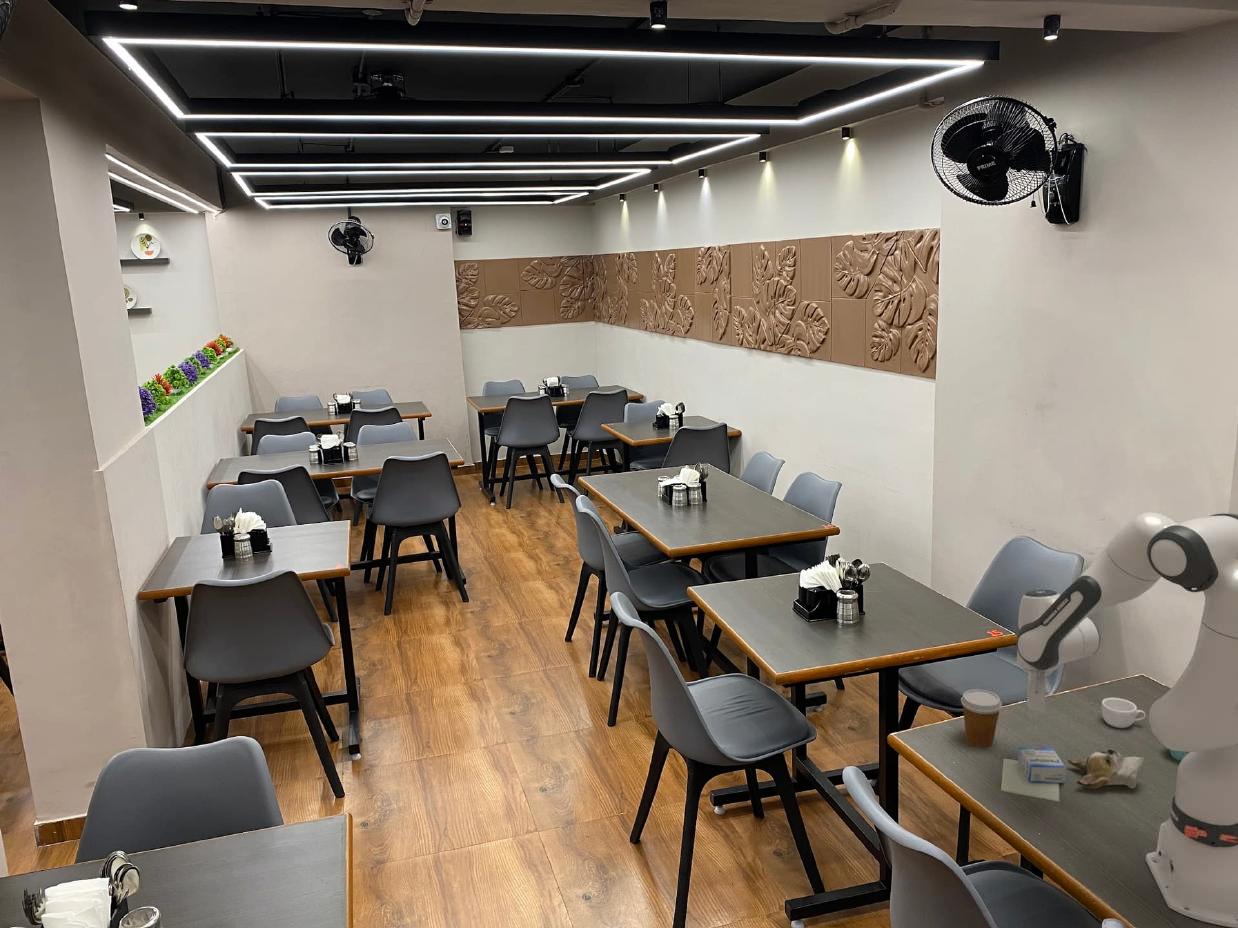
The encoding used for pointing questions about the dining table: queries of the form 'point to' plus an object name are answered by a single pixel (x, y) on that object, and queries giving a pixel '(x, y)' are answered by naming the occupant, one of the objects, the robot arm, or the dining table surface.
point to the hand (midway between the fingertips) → (1035, 712)
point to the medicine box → (1041, 765)
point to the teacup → (1120, 712)
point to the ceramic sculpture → (1109, 769)
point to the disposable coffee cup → (980, 716)
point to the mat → (1026, 783)
